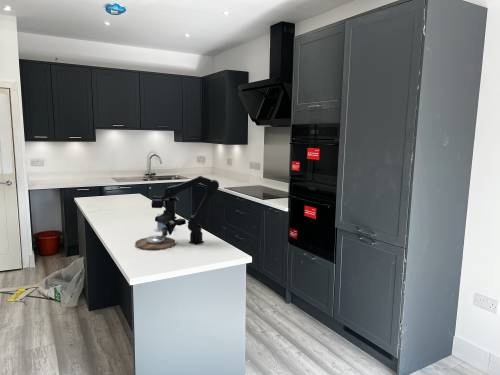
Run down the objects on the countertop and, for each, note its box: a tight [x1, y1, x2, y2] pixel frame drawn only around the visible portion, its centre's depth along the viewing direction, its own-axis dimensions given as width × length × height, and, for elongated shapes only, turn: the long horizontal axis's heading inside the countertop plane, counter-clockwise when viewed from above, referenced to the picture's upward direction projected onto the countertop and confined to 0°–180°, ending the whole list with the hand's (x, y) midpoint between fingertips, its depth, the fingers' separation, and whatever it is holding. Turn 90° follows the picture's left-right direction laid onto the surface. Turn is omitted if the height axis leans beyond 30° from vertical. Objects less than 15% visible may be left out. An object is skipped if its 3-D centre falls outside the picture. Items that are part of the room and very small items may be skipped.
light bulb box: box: [156, 212, 175, 232], centre depth 248 cm, size 11×7×11 cm, turn 105°
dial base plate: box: [134, 236, 176, 251], centre depth 216 cm, size 22×22×2 cm
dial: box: [145, 227, 169, 244], centre depth 217 cm, size 14×10×6 cm
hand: (170, 234), depth 221 cm, fingers closed
